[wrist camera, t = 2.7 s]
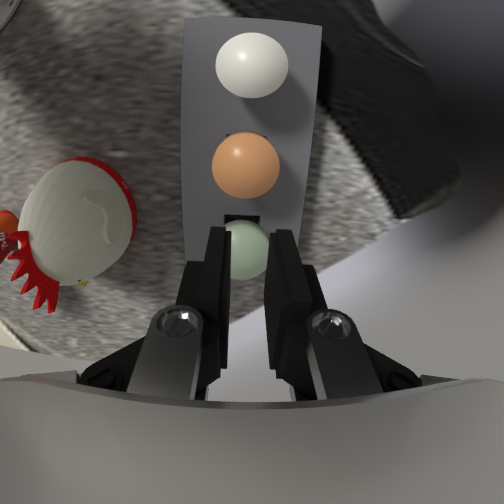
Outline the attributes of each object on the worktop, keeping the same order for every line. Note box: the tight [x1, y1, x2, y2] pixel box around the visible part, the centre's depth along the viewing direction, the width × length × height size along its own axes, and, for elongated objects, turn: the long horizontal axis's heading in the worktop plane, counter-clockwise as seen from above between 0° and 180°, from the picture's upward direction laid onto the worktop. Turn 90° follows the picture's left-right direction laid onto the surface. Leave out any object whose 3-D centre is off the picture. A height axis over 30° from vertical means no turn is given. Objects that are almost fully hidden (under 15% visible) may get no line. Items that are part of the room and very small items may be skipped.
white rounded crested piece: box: [6, 157, 137, 313], centre depth 26 cm, size 14×14×15 cm
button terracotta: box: [212, 131, 280, 199], centre depth 25 cm, size 5×5×5 cm
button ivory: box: [216, 33, 288, 98], centre depth 20 cm, size 5×5×5 cm
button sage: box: [222, 220, 269, 280], centre depth 29 cm, size 5×5×5 cm
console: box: [181, 17, 322, 272], centre depth 28 cm, size 26×12×3 cm, turn 177°
